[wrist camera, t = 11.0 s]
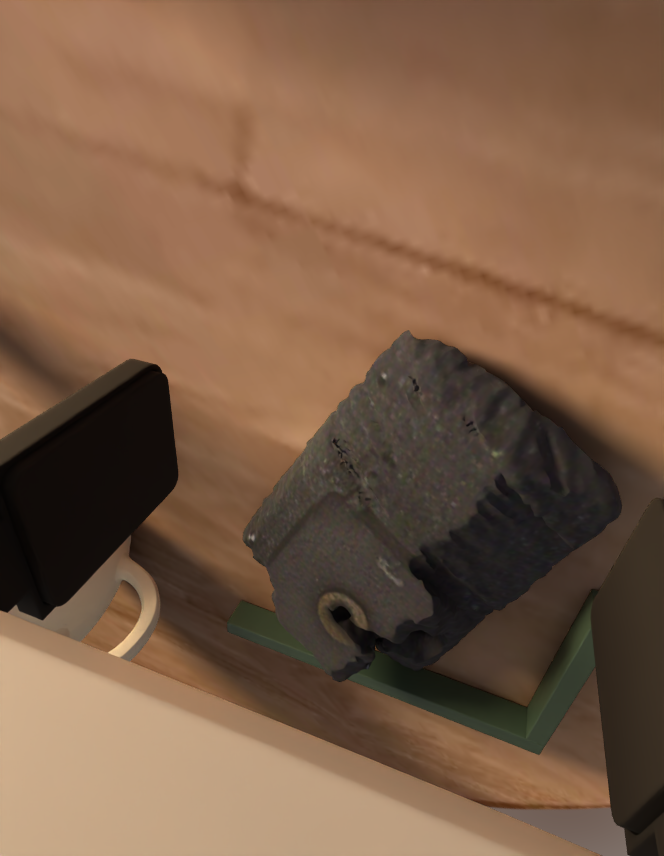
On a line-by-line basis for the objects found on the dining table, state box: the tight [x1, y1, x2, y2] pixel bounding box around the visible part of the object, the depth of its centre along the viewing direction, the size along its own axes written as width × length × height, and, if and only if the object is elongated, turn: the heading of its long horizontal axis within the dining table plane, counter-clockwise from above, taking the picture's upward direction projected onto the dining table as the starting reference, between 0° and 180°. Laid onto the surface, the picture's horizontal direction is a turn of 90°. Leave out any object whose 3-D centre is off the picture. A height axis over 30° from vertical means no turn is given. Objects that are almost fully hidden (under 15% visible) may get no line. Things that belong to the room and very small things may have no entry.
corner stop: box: [227, 589, 599, 755], centre depth 33 cm, size 23×13×2 cm, turn 85°
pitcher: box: [8, 535, 160, 662], centre depth 35 cm, size 11×18×14 cm, turn 83°
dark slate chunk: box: [243, 330, 622, 682], centre depth 28 cm, size 15×22×5 cm
